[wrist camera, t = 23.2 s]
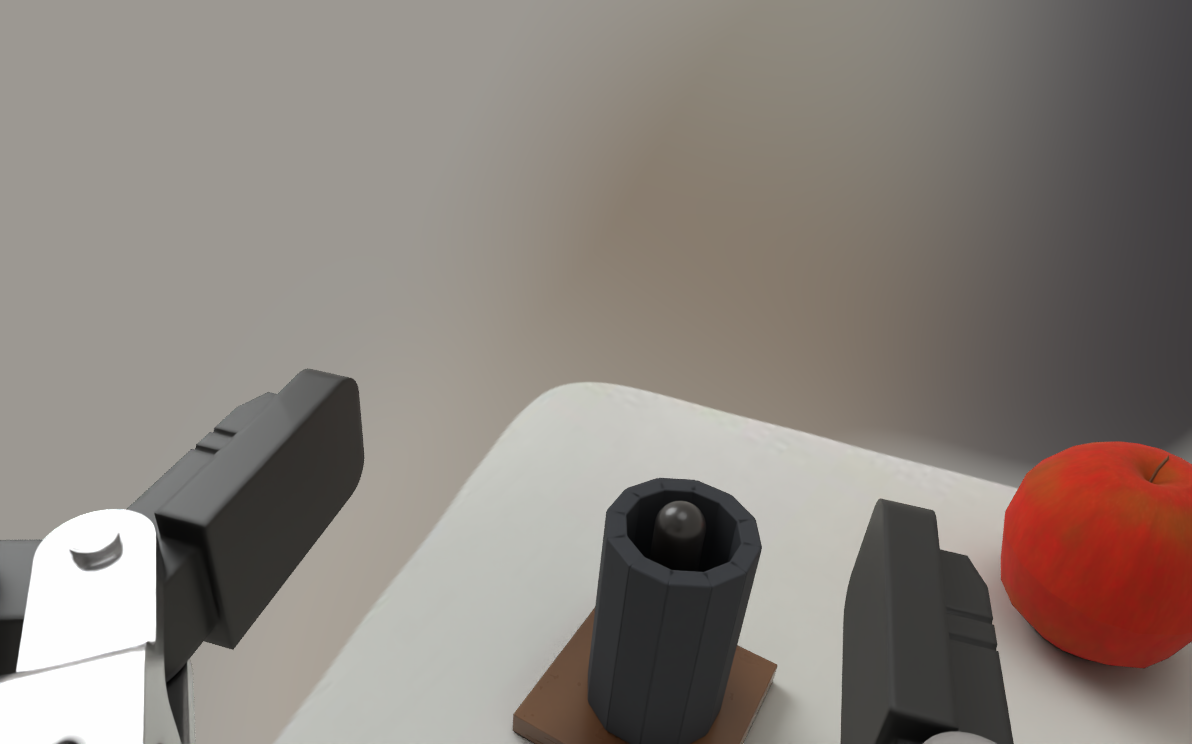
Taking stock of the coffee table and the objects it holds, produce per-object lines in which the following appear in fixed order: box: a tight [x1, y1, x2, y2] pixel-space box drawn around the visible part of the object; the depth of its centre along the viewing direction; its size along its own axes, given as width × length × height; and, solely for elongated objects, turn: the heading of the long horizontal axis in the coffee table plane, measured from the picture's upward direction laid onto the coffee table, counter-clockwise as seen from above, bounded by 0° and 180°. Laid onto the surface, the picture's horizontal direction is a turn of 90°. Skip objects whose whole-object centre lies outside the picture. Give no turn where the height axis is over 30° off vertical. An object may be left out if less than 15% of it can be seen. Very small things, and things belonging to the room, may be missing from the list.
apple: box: [1001, 442, 1192, 668], centre depth 43 cm, size 10×10×12 cm
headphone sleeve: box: [588, 478, 762, 744], centre depth 36 cm, size 6×6×10 cm
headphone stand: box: [513, 501, 777, 744], centre depth 37 cm, size 9×9×12 cm
